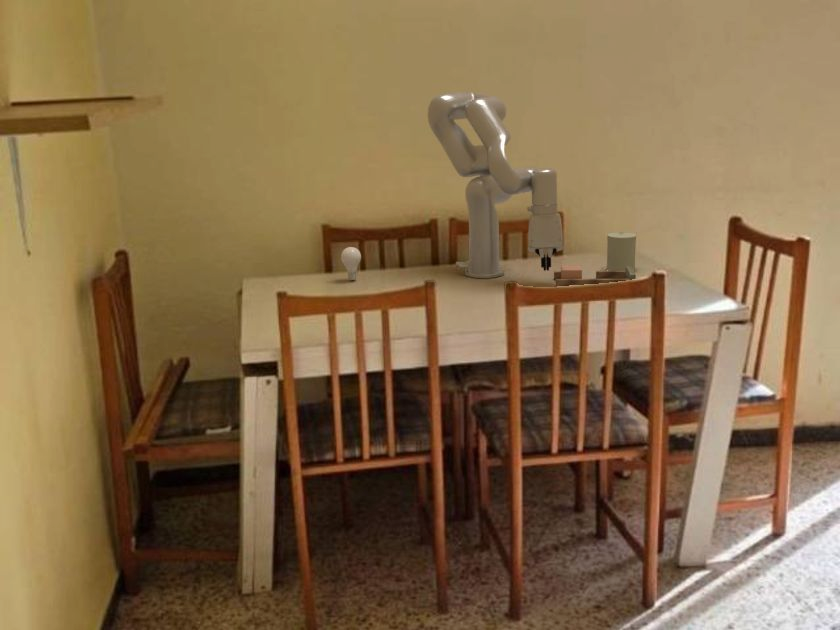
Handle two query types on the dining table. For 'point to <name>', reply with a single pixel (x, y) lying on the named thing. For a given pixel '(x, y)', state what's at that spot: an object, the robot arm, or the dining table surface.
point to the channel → (597, 277)
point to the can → (620, 251)
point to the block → (571, 272)
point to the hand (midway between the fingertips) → (546, 269)
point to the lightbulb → (351, 261)
